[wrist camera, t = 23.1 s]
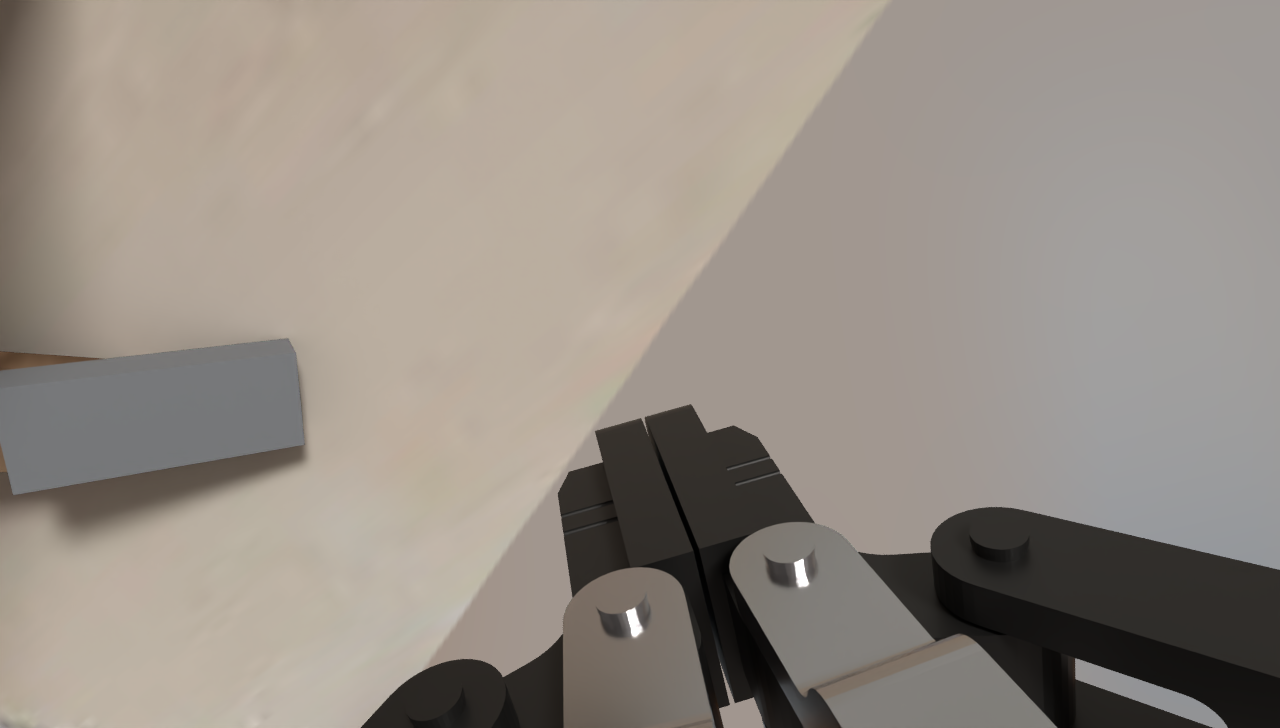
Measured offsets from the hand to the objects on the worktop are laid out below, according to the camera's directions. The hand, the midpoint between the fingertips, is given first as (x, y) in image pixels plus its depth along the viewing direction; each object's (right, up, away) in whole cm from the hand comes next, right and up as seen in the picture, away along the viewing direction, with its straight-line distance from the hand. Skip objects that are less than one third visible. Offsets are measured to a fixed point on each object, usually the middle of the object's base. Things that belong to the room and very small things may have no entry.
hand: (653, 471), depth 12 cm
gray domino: (-18, 0, +29) cm, 34 cm away
